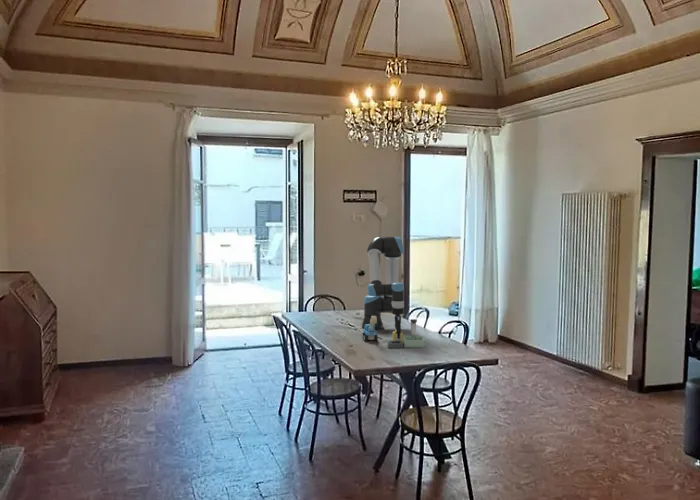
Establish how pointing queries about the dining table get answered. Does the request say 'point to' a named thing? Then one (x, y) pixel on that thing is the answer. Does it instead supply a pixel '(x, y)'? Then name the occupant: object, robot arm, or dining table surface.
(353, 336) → the dining table surface
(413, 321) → the stop pin
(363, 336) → the toy excavator
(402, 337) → the chock
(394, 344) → the pin holder
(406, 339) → the tray
